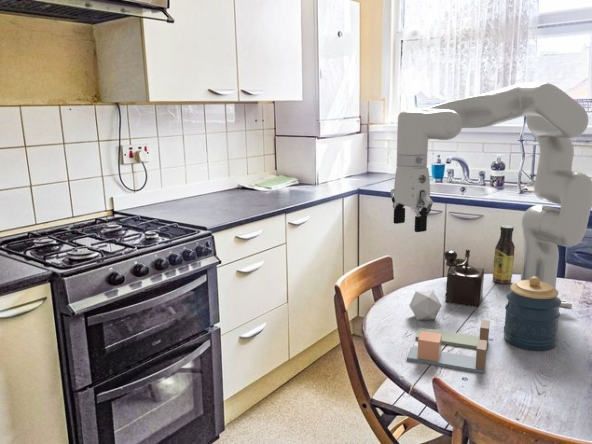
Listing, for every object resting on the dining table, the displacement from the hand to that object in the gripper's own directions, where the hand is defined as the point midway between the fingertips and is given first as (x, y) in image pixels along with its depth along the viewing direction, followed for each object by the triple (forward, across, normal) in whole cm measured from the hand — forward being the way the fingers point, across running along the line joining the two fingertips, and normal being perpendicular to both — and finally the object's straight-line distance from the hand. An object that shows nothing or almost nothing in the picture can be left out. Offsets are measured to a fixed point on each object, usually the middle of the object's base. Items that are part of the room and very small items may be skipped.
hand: (409, 227), depth 134 cm
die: (+31, +7, -11) cm, 33 cm away
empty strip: (+30, -8, -9) cm, 33 cm away
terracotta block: (+30, -13, +2) cm, 32 cm away
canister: (+30, -16, -28) cm, 44 cm away
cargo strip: (+30, -16, -1) cm, 34 cm away
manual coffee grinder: (+30, +13, -29) cm, 44 cm away
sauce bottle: (+30, +21, -53) cm, 64 cm away
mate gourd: (+30, +27, -39) cm, 56 cm away
